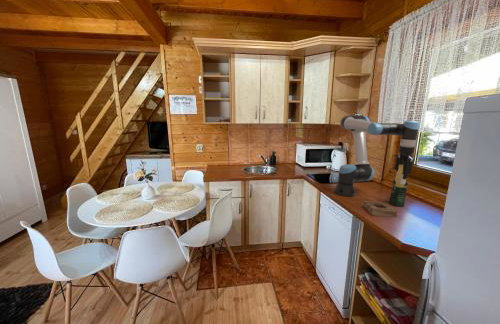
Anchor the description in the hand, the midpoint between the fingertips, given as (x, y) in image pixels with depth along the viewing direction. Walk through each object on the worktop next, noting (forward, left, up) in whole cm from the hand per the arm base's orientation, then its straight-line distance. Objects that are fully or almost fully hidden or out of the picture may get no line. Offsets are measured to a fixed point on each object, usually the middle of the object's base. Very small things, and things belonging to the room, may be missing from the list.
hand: (400, 182), depth 133 cm
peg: (0, 0, -3) cm, 3 cm away
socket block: (+2, -11, -20) cm, 23 cm away
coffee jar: (-14, +8, -20) cm, 26 cm away
